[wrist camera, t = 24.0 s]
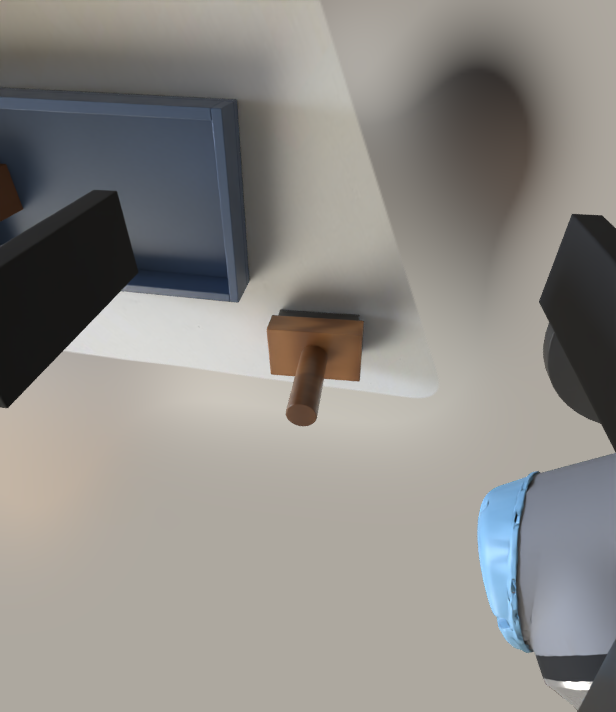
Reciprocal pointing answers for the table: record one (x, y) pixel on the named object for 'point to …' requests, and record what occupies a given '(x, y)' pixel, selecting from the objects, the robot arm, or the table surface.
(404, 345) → the table surface
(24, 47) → the table surface
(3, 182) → the brown cube
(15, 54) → the table surface
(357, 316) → the stamp
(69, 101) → the tray
